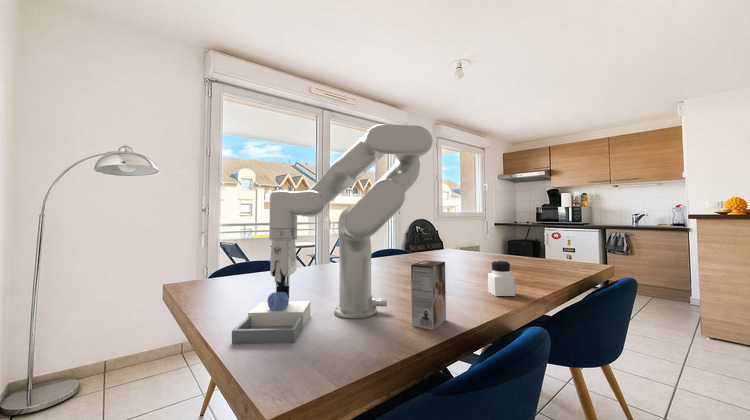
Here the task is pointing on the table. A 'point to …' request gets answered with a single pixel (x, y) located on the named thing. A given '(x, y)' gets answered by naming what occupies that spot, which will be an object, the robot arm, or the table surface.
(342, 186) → the robot arm
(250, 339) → the box
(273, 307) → the decorative dice
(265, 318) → the white box lid
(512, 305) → the table surface
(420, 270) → the coffee box
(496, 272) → the medicine bottle
